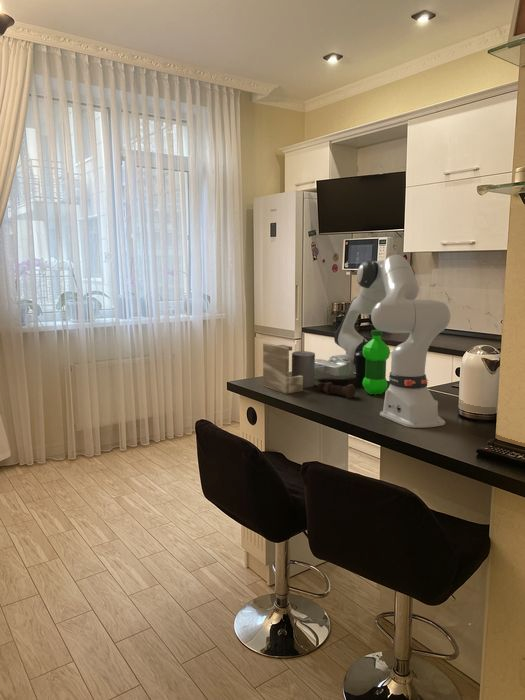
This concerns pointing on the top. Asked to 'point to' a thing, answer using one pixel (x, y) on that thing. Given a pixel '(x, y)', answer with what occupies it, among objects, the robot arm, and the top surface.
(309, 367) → the pillar candle
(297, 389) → the cradle
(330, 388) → the bolt
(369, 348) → the plastic bottle
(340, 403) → the top surface
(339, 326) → the robot arm
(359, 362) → the drinking cup
